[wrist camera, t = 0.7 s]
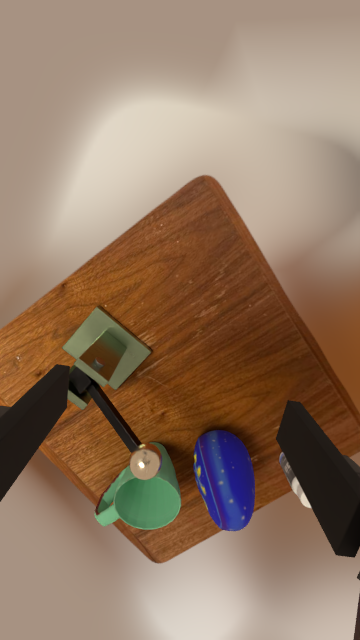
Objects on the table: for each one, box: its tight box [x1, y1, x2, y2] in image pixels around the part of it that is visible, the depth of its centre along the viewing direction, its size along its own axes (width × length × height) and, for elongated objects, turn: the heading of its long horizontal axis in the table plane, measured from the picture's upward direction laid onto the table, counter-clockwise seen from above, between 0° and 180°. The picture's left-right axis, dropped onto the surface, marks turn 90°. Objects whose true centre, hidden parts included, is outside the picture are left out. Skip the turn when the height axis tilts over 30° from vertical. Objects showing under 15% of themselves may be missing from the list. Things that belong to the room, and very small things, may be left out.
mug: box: [95, 442, 181, 530], centre depth 44 cm, size 15×10×10 cm
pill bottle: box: [279, 452, 311, 508], centre depth 45 cm, size 5×5×8 cm
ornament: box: [193, 430, 255, 531], centre depth 41 cm, size 11×9×15 cm
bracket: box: [62, 306, 152, 410], centre depth 37 cm, size 11×9×13 cm
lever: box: [69, 366, 162, 480], centre depth 31 cm, size 15×4×4 cm, turn 48°
